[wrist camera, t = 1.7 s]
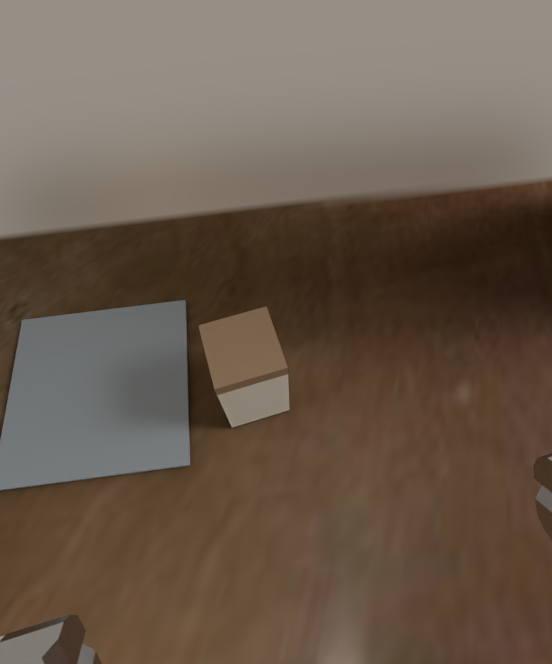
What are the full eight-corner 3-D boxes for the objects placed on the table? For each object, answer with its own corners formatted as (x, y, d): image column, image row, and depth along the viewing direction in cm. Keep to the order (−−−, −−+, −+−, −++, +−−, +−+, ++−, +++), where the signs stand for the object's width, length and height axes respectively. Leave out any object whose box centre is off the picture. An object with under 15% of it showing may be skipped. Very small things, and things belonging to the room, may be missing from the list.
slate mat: (186, 301, 38) (185, 299, 38) (190, 465, 31) (189, 464, 31) (24, 321, 38) (22, 319, 37) (-7, 491, 31) (-9, 490, 31)
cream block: (272, 358, 35) (266, 306, 28) (289, 410, 33) (287, 367, 26) (218, 374, 35) (198, 325, 28) (231, 427, 32) (214, 389, 25)
